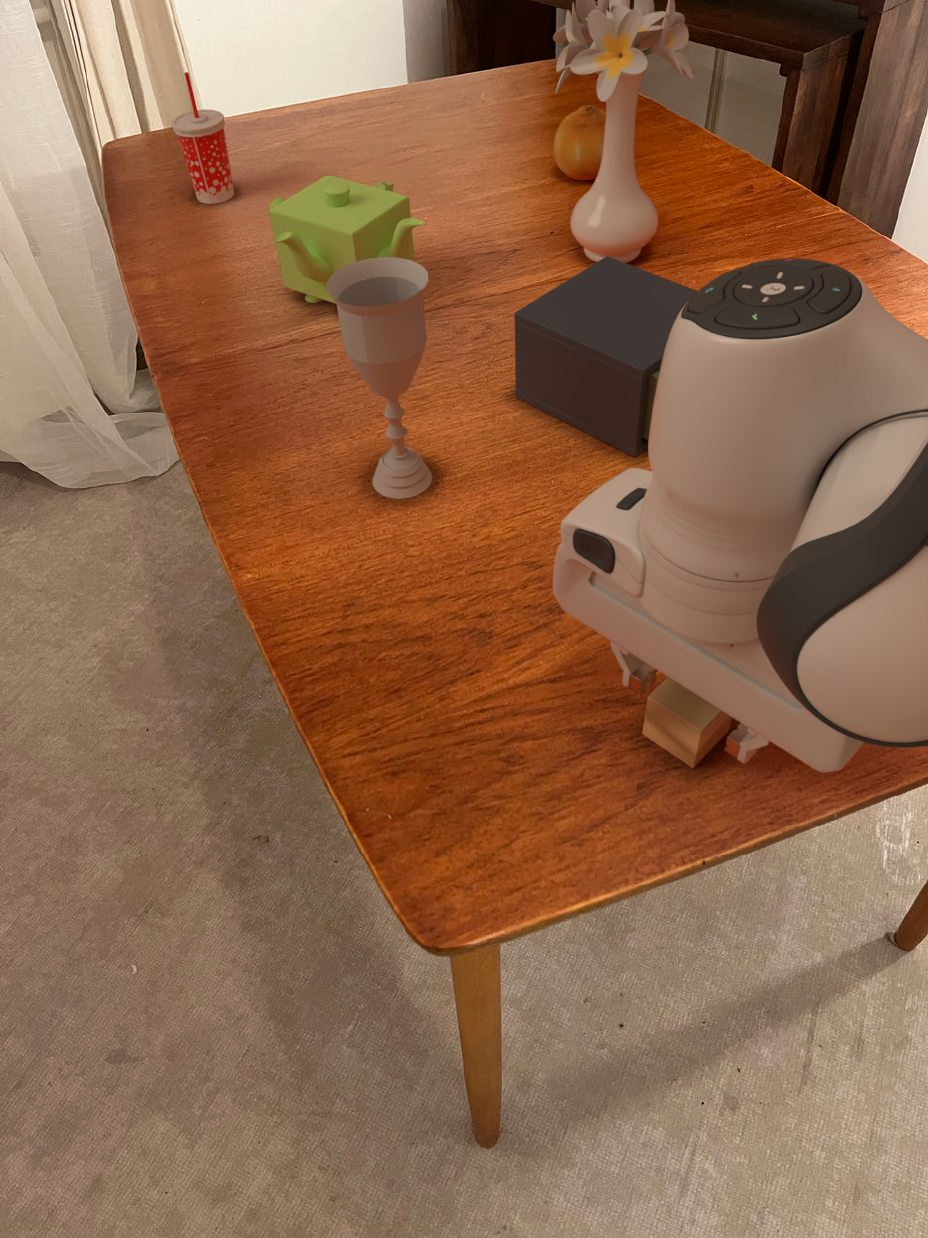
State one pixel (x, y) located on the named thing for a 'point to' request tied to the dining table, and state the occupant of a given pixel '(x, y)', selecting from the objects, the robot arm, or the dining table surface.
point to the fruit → (580, 143)
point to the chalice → (386, 352)
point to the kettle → (338, 231)
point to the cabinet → (597, 349)
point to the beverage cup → (205, 151)
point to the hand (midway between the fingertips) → (688, 717)
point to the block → (683, 722)
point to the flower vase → (618, 114)
